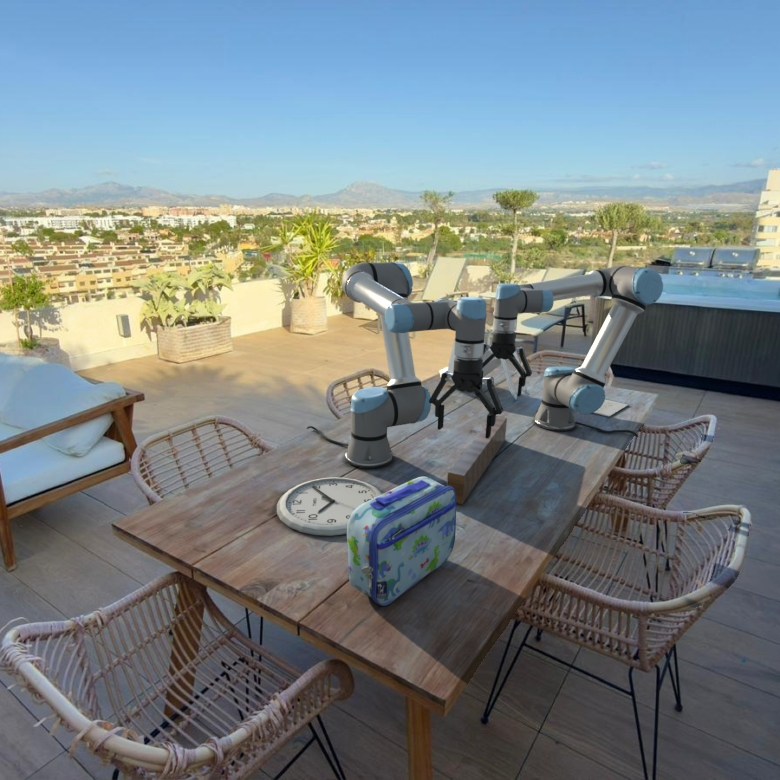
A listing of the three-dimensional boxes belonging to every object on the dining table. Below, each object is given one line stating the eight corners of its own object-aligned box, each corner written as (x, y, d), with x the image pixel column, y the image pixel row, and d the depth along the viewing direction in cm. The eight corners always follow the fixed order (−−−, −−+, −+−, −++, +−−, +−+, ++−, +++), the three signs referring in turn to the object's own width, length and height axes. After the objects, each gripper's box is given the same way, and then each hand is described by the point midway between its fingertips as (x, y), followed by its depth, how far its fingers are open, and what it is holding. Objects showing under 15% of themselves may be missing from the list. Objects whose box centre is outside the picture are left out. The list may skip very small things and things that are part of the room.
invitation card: (608, 416, 214) (573, 407, 224) (608, 416, 214) (573, 408, 224) (628, 404, 229) (594, 396, 238) (628, 405, 229) (594, 397, 238)
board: (492, 438, 190) (494, 415, 188) (504, 440, 189) (506, 417, 186) (446, 500, 146) (447, 472, 143) (462, 504, 144) (464, 475, 142)
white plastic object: (461, 429, 252) (437, 405, 227) (444, 352, 274) (420, 323, 250) (535, 404, 240) (518, 377, 215) (510, 326, 262) (492, 293, 237)
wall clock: (392, 527, 129) (268, 531, 127) (391, 533, 130) (269, 537, 127) (383, 473, 158) (282, 475, 155) (383, 478, 158) (282, 480, 156)
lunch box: (376, 619, 101) (377, 524, 95) (340, 592, 109) (339, 502, 102) (459, 562, 119) (465, 479, 113) (424, 542, 126) (427, 463, 120)
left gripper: (419, 354, 139) (416, 429, 145) (512, 366, 129) (505, 445, 136) (429, 349, 146) (426, 420, 152) (519, 359, 136) (512, 435, 142)
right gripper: (464, 329, 175) (461, 390, 181) (541, 337, 165) (534, 400, 171) (471, 326, 181) (467, 384, 188) (544, 332, 171) (538, 394, 178)
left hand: (463, 432), depth 144 cm, fingers open, 13 cm apart
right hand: (499, 392), depth 179 cm, fingers open, 13 cm apart
